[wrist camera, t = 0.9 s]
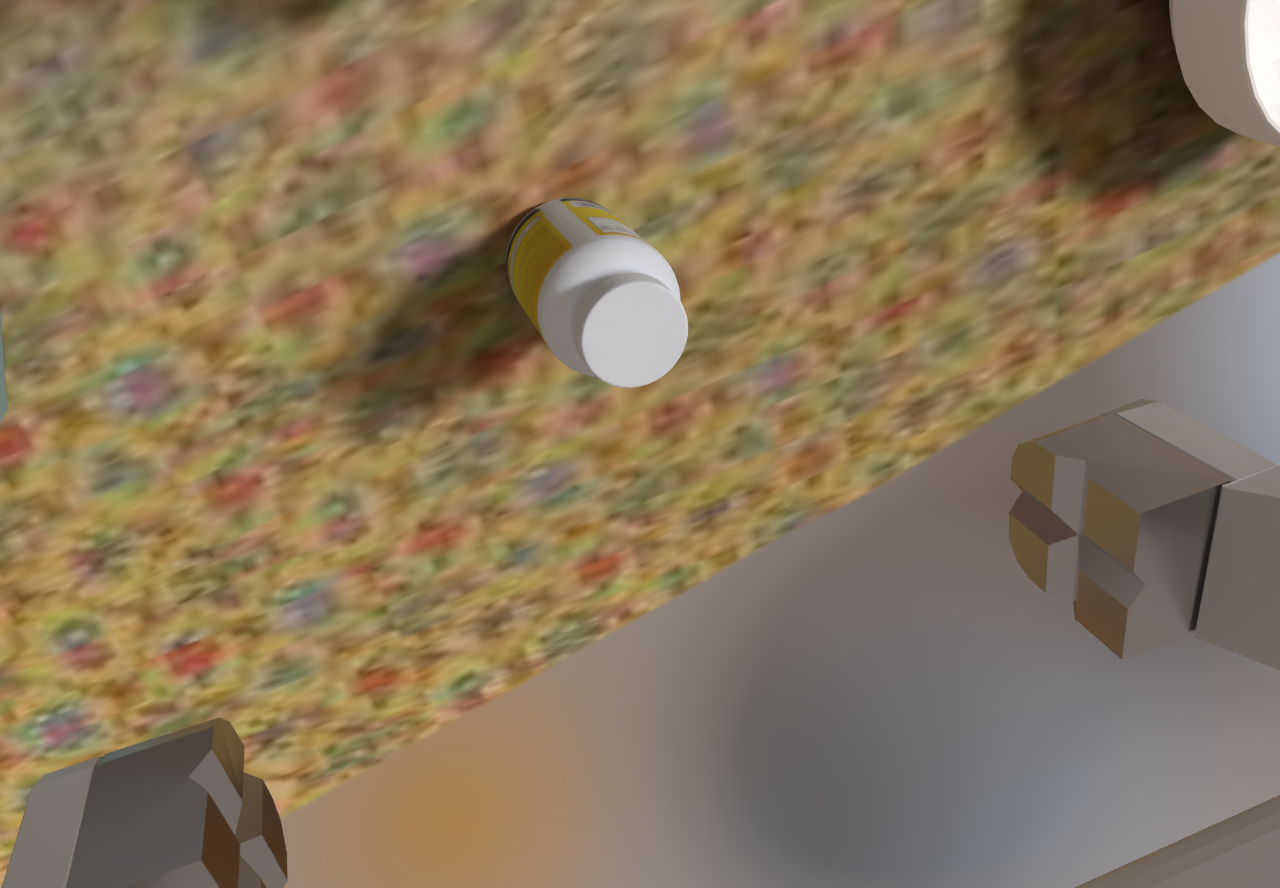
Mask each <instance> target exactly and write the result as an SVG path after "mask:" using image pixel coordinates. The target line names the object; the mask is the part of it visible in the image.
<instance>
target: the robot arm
mask: <svg viewBox="0 0 1280 888" xmlns="http://www.w3.org/2000/svg"><path fill="white" fill-rule="evenodd" d="M1011 480H1012V481H1013V482H1014V483H1015V484H1016V485H1017V486H1018V487H1019V488H1020V489H1021V490H1022V492H1021V494H1020V496H1019V497H1018V499H1017V501H1016V502H1015V504H1014V506H1013V507H1012V509H1011V510H1010V512H1009V540H1010V543H1011V545H1012V548H1013V551H1014V553H1015V556H1016V559H1017V562H1018V563H1019V565H1020V566H1021V568H1022V569H1023V571H1024V572H1025V573H1026V575H1027V576H1028V578H1029V579H1030V580H1031V581H1032V582H1033V583H1035V584H1036V585H1037V586H1038V587H1039V588H1040V589H1041V590H1042V591H1043V592H1044V593H1046V594H1049V595H1053V596H1056V597H1060V598H1063V599H1066V600H1070V601H1073V606H1074V615H1075V620H1076V621H1078V622H1079V623H1080V624H1081V625H1082V626H1083V627H1085V628H1086V629H1087V630H1088V631H1089V632H1090V633H1092V634H1093V635H1094V636H1095V637H1096V638H1098V639H1099V640H1100V641H1101V642H1102V643H1103V644H1104V645H1105V646H1107V647H1108V648H1109V649H1110V650H1111V651H1112V652H1114V653H1115V654H1116V655H1117V656H1118V657H1119V658H1121V659H1125V658H1127V657H1130V656H1133V655H1135V654H1138V653H1141V652H1144V651H1146V650H1149V649H1152V648H1155V647H1157V646H1160V645H1163V644H1166V643H1168V642H1171V641H1174V640H1176V639H1179V638H1182V637H1185V636H1187V635H1190V634H1193V633H1195V637H1196V638H1198V639H1201V640H1203V641H1206V642H1209V643H1211V644H1214V645H1216V646H1219V647H1221V648H1224V649H1226V650H1229V651H1232V652H1234V653H1237V654H1239V655H1242V656H1245V657H1247V658H1250V659H1252V660H1255V661H1258V662H1260V663H1263V664H1265V665H1268V666H1270V667H1273V668H1276V669H1278V670H1280V465H1277V464H1275V463H1273V462H1272V461H1270V460H1268V459H1266V458H1264V457H1262V456H1260V455H1258V454H1257V453H1255V452H1253V451H1251V450H1249V449H1247V448H1245V447H1243V446H1242V445H1240V444H1238V443H1236V442H1234V441H1232V440H1230V439H1228V438H1227V437H1225V436H1223V435H1221V434H1219V433H1217V432H1215V431H1213V430H1212V429H1210V428H1208V427H1206V426H1204V425H1202V424H1200V423H1198V422H1197V421H1195V420H1193V419H1191V418H1189V417H1187V416H1185V415H1183V414H1182V413H1180V412H1178V411H1176V410H1174V409H1172V408H1170V407H1169V406H1167V405H1165V404H1163V403H1161V402H1159V401H1153V400H1145V399H1141V400H1138V401H1135V402H1133V403H1130V404H1127V405H1124V406H1122V407H1119V408H1117V409H1114V410H1111V411H1109V412H1106V413H1103V414H1101V415H1100V416H1099V417H1096V418H1092V419H1090V420H1087V421H1084V422H1081V423H1078V424H1075V425H1073V426H1070V427H1067V428H1064V429H1061V430H1058V431H1055V432H1053V433H1050V434H1047V435H1044V436H1041V437H1038V438H1036V439H1032V440H1030V441H1027V442H1024V443H1021V444H1019V445H1018V446H1017V448H1016V451H1015V453H1014V455H1013V457H1012V463H1011ZM244 747H245V746H244V745H243V743H242V741H241V740H240V738H239V736H238V735H237V733H236V731H235V730H234V728H233V726H232V725H231V723H230V722H229V721H227V720H225V719H222V718H216V719H213V720H210V721H207V722H204V723H201V724H198V725H195V726H191V727H188V728H185V729H182V730H179V731H176V732H173V733H170V734H166V735H163V736H160V737H157V738H154V739H151V740H148V741H145V742H141V743H138V744H135V745H132V746H129V747H126V748H123V749H120V750H116V751H113V752H110V753H107V754H105V755H104V756H103V757H97V758H94V759H91V760H88V761H85V762H82V763H78V764H75V765H72V766H69V767H66V768H63V769H60V770H57V771H54V772H51V773H48V774H45V775H44V776H43V777H42V778H41V779H40V780H39V781H38V782H37V783H36V784H35V785H34V786H33V787H32V789H31V791H30V795H29V798H28V802H27V805H26V808H25V812H24V815H23V818H22V822H21V825H20V828H19V832H18V835H17V838H16V842H15V845H14V848H13V852H12V855H11V858H10V862H9V865H8V868H7V872H6V875H5V878H4V882H3V885H2V888H283V887H284V886H285V884H286V882H287V881H288V877H287V851H286V845H285V840H284V835H283V830H282V824H281V820H280V817H279V814H278V812H277V809H276V806H275V803H274V801H273V798H272V796H271V794H270V792H269V790H268V789H267V787H266V785H265V783H264V781H263V780H262V779H260V778H257V777H255V776H252V775H250V774H247V773H245V772H244ZM1075 888H1280V795H1279V796H1277V797H1275V798H1272V799H1270V800H1268V801H1266V802H1263V803H1261V804H1259V805H1257V806H1255V807H1252V808H1250V809H1248V810H1246V811H1244V812H1241V813H1239V814H1237V815H1235V816H1232V817H1230V818H1228V819H1226V820H1224V821H1221V822H1219V823H1217V824H1215V825H1212V826H1211V827H1208V828H1206V829H1204V830H1201V831H1199V832H1197V833H1195V834H1193V835H1190V836H1188V837H1186V838H1184V839H1182V840H1179V841H1177V842H1175V843H1173V844H1170V845H1168V846H1166V847H1164V848H1161V849H1159V850H1157V851H1155V852H1153V853H1150V854H1148V855H1146V856H1144V857H1142V858H1139V859H1137V860H1135V861H1133V862H1131V863H1128V864H1126V865H1124V866H1122V867H1119V868H1117V869H1115V870H1113V871H1111V872H1108V873H1106V874H1104V875H1102V876H1100V877H1097V878H1095V879H1093V880H1091V881H1088V882H1086V883H1084V884H1082V885H1079V886H1077V887H1075Z"/></svg>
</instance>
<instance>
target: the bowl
mask: <svg viewBox="0 0 1280 888" xmlns="http://www.w3.org/2000/svg"><path fill="white" fill-rule="evenodd" d="M1169 10H1170V20H1171V30H1172V37H1173V40H1174V44H1175V47H1176V54H1177V57H1178V60H1179V64H1180V67H1181V70H1182V74H1183V77H1184V81H1185V83H1186V85H1187V86H1188V88H1189V90H1190V92H1191V93H1192V95H1193V97H1194V99H1195V100H1196V102H1197V104H1198V106H1199V107H1200V108H1201V109H1202V110H1203V111H1204V112H1205V113H1207V114H1208V115H1209V116H1210V117H1211V118H1212V119H1213V120H1214V121H1215V122H1216V123H1217V124H1219V125H1221V126H1223V127H1225V128H1227V129H1229V130H1231V131H1233V132H1235V133H1237V134H1240V135H1243V136H1246V137H1250V138H1253V139H1256V140H1259V141H1262V142H1265V143H1268V144H1272V145H1277V146H1280V0H1169Z"/></svg>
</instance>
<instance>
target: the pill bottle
mask: <svg viewBox="0 0 1280 888" xmlns="http://www.w3.org/2000/svg"><path fill="white" fill-rule="evenodd" d="M506 273H507V278H508V281H509V284H510V287H511V289H512V291H513V293H514V295H515V297H516V299H517V300H518V301H519V303H520V304H521V306H522V307H523V309H524V310H525V312H526V313H527V315H528V316H529V318H530V320H531V321H532V323H533V324H534V326H535V327H536V329H537V330H538V332H539V333H540V335H541V336H542V338H543V339H544V341H545V343H546V344H547V346H548V347H549V348H550V350H551V351H552V352H553V354H554V355H555V356H556V357H557V358H558V359H559V360H560V361H561V362H562V363H564V364H565V365H566V366H568V367H569V368H571V369H573V370H575V371H577V372H579V373H582V374H585V375H589V376H593V377H598V378H599V379H601V380H602V381H604V382H606V383H608V384H610V385H614V386H617V387H625V388H632V387H639V386H643V385H646V384H649V383H652V382H654V381H656V380H657V379H659V378H661V377H662V376H663V375H665V374H666V373H667V372H668V371H669V370H670V369H671V368H672V367H673V366H674V365H675V363H676V362H677V361H678V359H679V358H680V356H681V354H682V352H683V350H684V347H685V344H686V341H687V335H688V322H687V316H686V313H685V310H684V308H683V306H682V304H681V302H680V292H679V286H678V283H677V280H676V277H675V275H674V272H673V270H672V269H671V267H670V265H669V264H668V262H667V261H666V260H665V259H664V257H663V256H662V255H661V254H660V253H659V252H658V251H657V250H656V249H654V248H653V247H652V246H651V245H650V244H649V243H647V242H646V241H645V240H644V239H642V238H641V237H640V236H639V235H637V234H636V233H635V232H634V231H633V230H631V229H630V228H629V227H628V226H626V225H625V224H624V223H623V222H621V221H620V220H619V219H618V218H617V217H615V216H614V215H613V214H612V213H611V212H609V211H608V210H607V209H605V208H604V207H602V206H600V205H598V204H596V203H594V202H592V201H588V200H585V199H580V198H560V199H555V200H551V201H549V202H546V203H544V204H542V205H540V206H538V207H536V208H535V209H533V210H532V211H531V212H530V213H528V214H527V215H526V216H525V217H524V218H523V219H522V220H521V222H520V223H519V224H518V225H517V227H516V228H515V230H514V232H513V234H512V236H511V238H510V241H509V244H508V247H507V252H506Z"/></svg>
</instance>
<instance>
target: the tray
mask: <svg viewBox="0 0 1280 888" xmlns="http://www.w3.org/2000/svg"><path fill="white" fill-rule="evenodd" d="M7 410H8V407H7V395H6V382H5V369H4V356H3V344H2V331H1V318H0V422H1V420H2V418H3V417H4V415H5V413H6V411H7Z"/></svg>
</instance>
